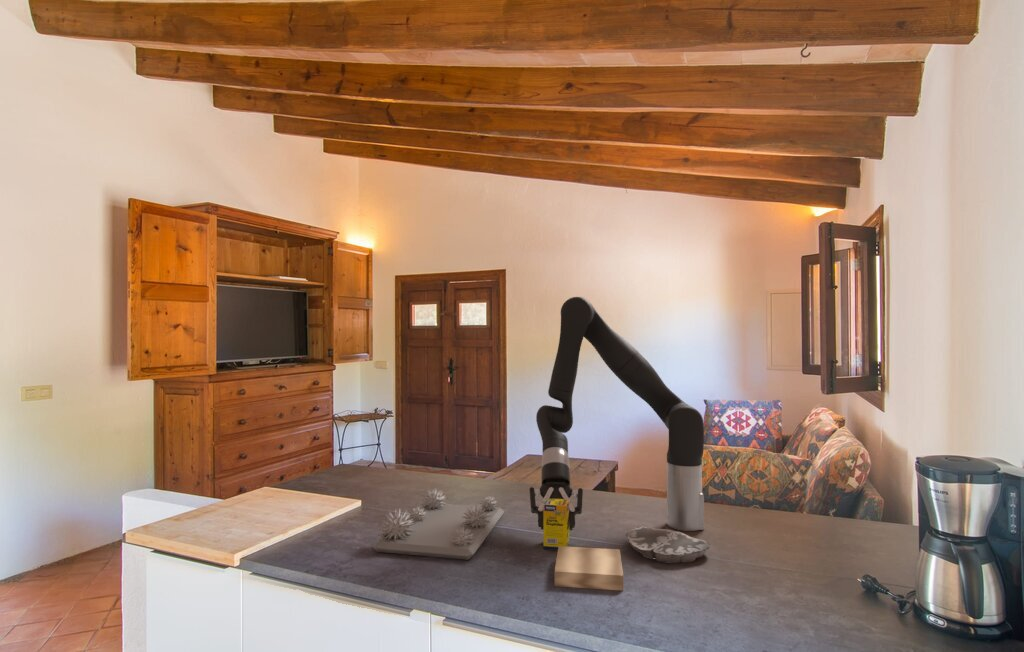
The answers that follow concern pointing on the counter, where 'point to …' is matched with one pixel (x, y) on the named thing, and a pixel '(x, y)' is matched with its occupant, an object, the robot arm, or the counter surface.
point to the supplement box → (555, 523)
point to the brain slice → (666, 544)
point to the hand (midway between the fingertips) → (556, 528)
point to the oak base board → (589, 568)
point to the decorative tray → (439, 528)
